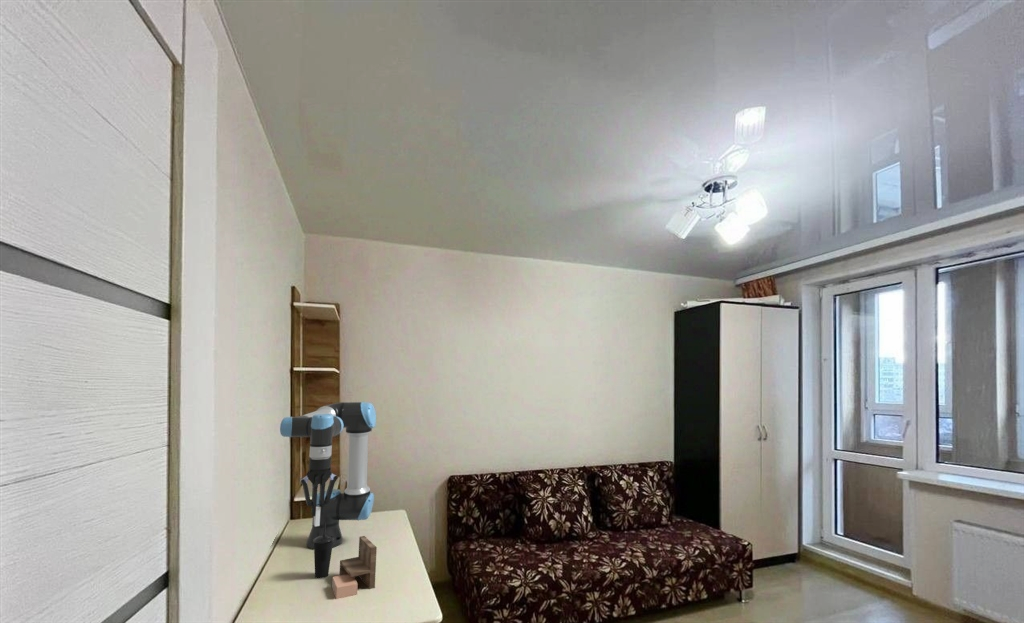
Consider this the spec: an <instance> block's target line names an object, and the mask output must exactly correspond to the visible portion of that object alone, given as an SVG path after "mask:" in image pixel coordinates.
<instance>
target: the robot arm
mask: <svg viewBox="0 0 1024 623" xmlns="http://www.w3.org/2000/svg"><path fill="white" fill-rule="evenodd" d="M376 414H377V413H376V409H375V407H374V404H372V403H371V402H365V401H361V402H360V401H358V402H357V401H356V402H351V401H348V402H345V401H340V402H334V403H330V404H327V405H324V406H320V407H318V409H316V410H315V411H312V412H309V413H306V414H303V415H299V416H286V417H283V419H282V420H281V421H280V426H279V432H280V436H282V437H283V438H284V437H286V438H310V440H309V456H308V457H309V458H310V459H308V472H307V473H306V476H304V477H303V478H302V477H301V478H300V479H299V482H300V483H301V485H302V489H303V494H304V498H305V499H304V500H305V504H306V505H307V507H311V510H310V512H311V513H310V515H311V517H312V525H311V529H310V532H309V535H308V538H307V540H306V547H307V548H308V549H311V550H314V542H313V540H314V539H315V538H317V537H318V536H321V535H323V530H324V522H326V527H325V535H330V536H333V537H334V540H333V546H332V548H335V547H338V546H339V545H341V544H342V543H343V535H342V532H341V528H340V521H365V520H366V521H367V519H369V518H370V516H371V513H372V511H373V506H374V502H375V494H374V493H373V492H371V488H370V486H369V485H368V463H369V462H368V457H369V455H368V454H369V453H368V452H369V449H368V448H369V435H370V433H371V432H372V431H373V429H374V428H375V427H376V425H377V424H376V423H377V415H376ZM344 428H345V434H346V435H348V462H347V463H348V465H347V487H346V488H345V489H344V491H343V493H342V491H341V489H339V488H335V489H334V487H335V483H336V482H337V481H338V478H339V476H337V474H334V473H333V471H332V467H331V466H332V458H331V457H332V453H333V452H332V449H333V448H332V447H333V437H337V436H338V435H340V433H341V432H342V431H343V430H344ZM308 480H309V481H310V483H311V486H312V490H311V497H310V491H309V487H308V483H309V481H308ZM328 480H329V483H328V487H327V489H326V483H327V481H328ZM318 487H319V492H318Z"/></svg>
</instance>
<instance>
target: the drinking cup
mask: <svg viewBox="0 0 1024 623" xmlns="http://www.w3.org/2000/svg"><path fill="white" fill-rule="evenodd" d="M325 527H326V522H324V530H323V535H321V536H318V537H317V538H315V539H314V540H313V542H314V549H313V553H314V554H313V555H314V556H313V557H314V559H313V561H314V578H315V579H325V578H327V577H328V576H329V574H330V573H329V572H330V563H331V558H332V552H333V547H332V546H333V540H334V537H333V536H330V535H325Z"/></svg>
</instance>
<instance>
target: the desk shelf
mask: <svg viewBox="0 0 1024 623" xmlns="http://www.w3.org/2000/svg"><path fill="white" fill-rule="evenodd" d="M358 538H359V539H358V556H356V557H351V558H346V559H340V561H339V574H338V576H341V575H346V574H349V575H350V577H353V576H354V577H355V578H358V577H359V578H360V579H361V580H362V582H363V583H364V584H365V586H366V587H367V588H368V589H373V588H374V589H375V588H376V572H377V570H376V566H377V550H378V549H377V546H376V545H375V544H374V543H373V542H371V540H370V539H369V538H367V536H365V535H362V536H359V537H358Z"/></svg>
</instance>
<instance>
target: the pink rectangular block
mask: <svg viewBox="0 0 1024 623" xmlns="http://www.w3.org/2000/svg"><path fill="white" fill-rule="evenodd" d="M358 585H359V584H358V582H357V580H356V577H354V576H353V577H350V575H349V574H346V575H341V576H339V575H335V576H332V585H331V588H332V591H333V593H334V596H335V599H336V600H339V599H342V598H348V597H351V596H352V597H354V596H358Z"/></svg>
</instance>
